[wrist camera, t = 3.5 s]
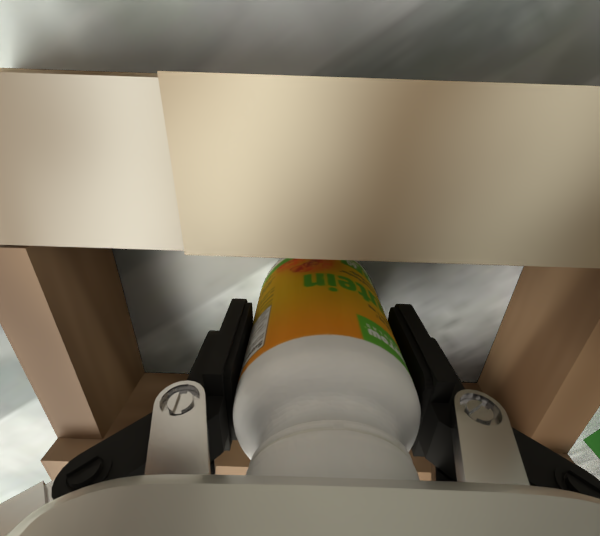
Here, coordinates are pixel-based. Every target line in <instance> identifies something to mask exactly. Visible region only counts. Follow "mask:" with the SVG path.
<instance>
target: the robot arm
mask: <svg viewBox="0 0 600 536" xmlns="http://www.w3.org/2000/svg"><path fill="white" fill-rule="evenodd" d="M388 323H389V325H390V328H391V330H392V333H393V335H394V338H395V340H396V342H397V345H398V347H399V349H400V352H401V354H402V357H403V359H404V361H405V363H406V366H407V368H408V371H409V373H410V375H411V378H412V380H413V383H414V386H415V389H416V391H417V395H418V398H419V403H420V408H421V419H420V426H419V430H418V434H417V437H416V439H415V442H414V444H413V446H412V448H411V450H412V453H413V456H415V457H425V458H426V459H427V460H428V461H429V462H431V481H422V480H394V479H362V478H330V477H295V476H255V475H216V464H215V459H216V458H217V457H218V456H220V455H221V454H222V453H223V452H224V451H230V449H231V444H232V440H238V439H237V437H236V434H235V429H234V424H233V404H234V399H235V394H236V388H237V385H238V381H239V376H240V372H241V369H242V365H243V361H244V357H245V353H246V349H247V345H248V341H249V336H250V333H251V329H252V325H253V313H252V303H247V299H232V301H231V303H230V306H229V308H228V311H227V313H226V316H225V318H224V321H223V323H222V326H221V328H220V331H209V332H208V334H207V336H206V338H205V340H204V343H203V345H202V347H201V349H200V352H199V354H198V356H197V358H196V360H195V363H194V365H193V367H192V369H191V371H190V374H189V376H188V378H187V380H186V381H180V382H176V383H173V384H171V385H170V386H168V387H166V388H165V389H164V390H162V391H161V392H160V393H159V395H158V396H157V398H156V399H155V402H154V406H153V412H151V413H150V414H148V415H146V416H144V417H143V418H141V419H139V420H137V421H136V422H134V423H132V424H131V425H129V426H127V427H125V428H124V429H122V430H120V431H118V432H117V433H115V434H113V435H111V436H110V437H108V438H106V439H105V440H103V441H101V442H99V443H98V444H96V445H94V446H92V447H91V448H89V449H87V450H86V451H84V452H82V453H80V454H79V455H77V456H76V457H75V458H73V459H72V460H70V461H69V462H68V463H67V464H66V465H65V466H64V467H63V468H62V469H61V471H60V472H59V474H58V475H57V476H56V478H55V480H53V481H51V482H49V483H47V484H46V485H45V483H44V481H42V482H40V483H38V484H36V485H34V486H33V487H31V488H29V489H27V490H25V491H23V492H21V493H20V494H18V495H16V496H14V497H12V498H10V499H8V500H7V501H5V502H3V503H1V504H0V536H600V481H599V480H598V479H597V478H596V477H595V476H593V475H592V474H590V473H589V472H587V471H586V470H584V469H583V468H581V467H579V466H578V465H576V464H574V463H572V462H571V461H569V460H567V459H566V458H564V457H562V456H560V455H559V454H557V453H555V452H554V451H552V450H550V449H549V448H547V447H545V446H543V445H542V444H540V443H538V442H537V441H535V440H533V439H531V438H530V437H528V436H526V435H525V434H523V433H521V432H520V431H518V430H516V429H514V428H513V427H511V424H510V421H509V418H508V415H507V413H506V411H505V409H504V408H503V407H502V406H501V405H500V404H499V403H498V402H497V401H496V400H495V399H493V398H492V397H490V396H488V395H487V394H485V393H482V392H480V391H477V390H471V389H465V388H464V386H463V384H462V383H461V381H460V379H459V378H458V376H457V374H456V373H455V371H454V369H453V368H452V366H451V364H450V363H449V361H448V359H447V358H446V356H445V354H444V353H443V351H442V349H441V348H440V346H439V344H438V343H437V341H436V340H435V339H434V338H431V337H430V336H429V334H428V332H427V331H426V329H425V327H424V325H423V324H422V322H421V320H420V318H419V317H418V315H417V313H416V312H415V310H414V308H413V306H412V305H410V304H396V305H395V307H391V308H390V312H389V317H388Z"/></svg>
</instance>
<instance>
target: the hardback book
mask: <svg viewBox="0 0 600 536" xmlns="http://www.w3.org/2000/svg"><path fill="white" fill-rule="evenodd" d="M584 441H585V443H586V444H587V445H588V446H589V447H590V448H591V449H592V451H593V452H594V453H595V454H596V455H597V456H598V457H599V459H600V429H599V430H597V431H596V432H594V433H593V434H591V435H590V436H588V437H587V438H585V439H584Z"/></svg>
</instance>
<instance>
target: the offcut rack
mask: <svg viewBox="0 0 600 536" xmlns="http://www.w3.org/2000/svg"><path fill="white" fill-rule="evenodd" d="M112 248H118V249H149V250H180V251H184V252H185V255H203V256H234V257H265V258H295V259H326V260H357V261H387V262H418V263H448V264H479V265H510V266H524V268H523V270H522V273H521V275H520V278H519V280H518V283H517V285H516V287H515V290H514V292H513V295H512V297H511V300H510V302H509V305H508V307H507V310H506V312H505V315H504V317H503V320H502V322H501V325H500V327H499V330H498V332H497V335H496V337H495V340H494V342H493V345H492V347H491V350H490V352H489V355H488V357H487V360H486V362H485V365H484V367H483V370H482V372H481V375H480V377H479V380H478V382H477V383H462V382H461V383H462V384H463V386H464V388H465V389H471V390H477V391H480V392H482V393H485V394H487V395H488V396H490V397H492V398H493V399H495V400H496V401H497V402H498V403H499V404H500V405H501V406H502V407H503V408H504V409H505V411H506V413H507V415H508V418H509V421H510V424H511V427H513V428H514V429H516V430H518V431H520V432H521V433H523V434H525V435H526V436H528V437H530V438H531V439H533V440H535V441H537V442H538V443H540V444H542V445H543V446H545V447H547V448H549V449H550V450H552V451H554V452H555V453H557V454H559V455H560V456H562V457H564V458H566V459H567V460H569V461H571V462H572V463H574V462H573V461H572V459H571V458H570V457H569V455H568V454H567V453H568V452H569V450H570V449H571V447H572V446H573V444H574V443H575V442H576V440H577V439H578V437H579V436H580V434H581V433H582V431H583V430H584V428H585V427H586V425H587V424H588V422H589V421H590V419H591V418H592V417H593V415H594V414H595V412H596V411H597V409H598V408H599V406H600V86H582V85H553V84H524V83H495V82H466V81H437V80H408V79H379V78H350V77H321V76H291V75H262V74H233V73H204V72H175V71H157V73H134V72H105V71H76V70H47V69H18V68H0V324H1V326H2V328H3V330H4V332H5V334H6V336H7V338H8V340H9V342H10V344H11V346H12V348H13V350H14V352H15V354H16V356H17V358H18V360H19V362H20V364H21V366H22V368H23V370H24V371H25V373H26V375H27V377H28V379H29V381H30V383H31V385H32V387H33V389H34V391H35V393H36V395H37V397H38V399H39V401H40V403H41V405H42V407H43V409H44V411H45V413H46V415H47V417H48V419H49V421H50V423H51V425H52V427H53V429H54V431H55V433H56V435H57V437H58V439H57V440H56V441H55V443H54V444H53V445H52V447H51V448H50V449H49V450H48V452H47V453H46V454H45V456H44V457H43V458H42V459H41V462H42V464H43V466H44V468H45V469H46V471H47V473H48V475H49V476H50V478H51V480H52V481H53V480H55V478H56V476H57V475H58V474H59V472H60V471H61V469H62V468H63V467H64V466H65V465H66V464H67V463H68V462H69V461H70V460H72V459H73V458H75V457H76V456H77V455H79V454H80V453H82V452H84V451H86V450H87V449H89V448H91V447H92V446H94V445H96V444H98V443H99V442H101V441H103V440H105V439H106V438H108V437H110V436H111V435H113V434H115V433H117V432H118V431H120V430H122V429H124V428H125V427H127V426H129V425H131V424H132V423H134V422H136V421H137V420H139V419H141V418H143V417H144V416H146V415H148V414H150V413H151V412H153V406H154V402H155V399H156V398H157V396H158V395H159V393H160V392H161V391H162V390H164V389H165V388H166V387H168V386H170V385H171V384H173V383H176V382H180V381H186V380H187V378H188V376H189V374H176V373H145V371H144V368H143V364H142V360H141V356H140V353H139V349H138V345H137V341H136V338H135V334H134V330H133V326H132V323H131V319H130V315H129V311H128V308H127V304H126V300H125V296H124V293H123V289H122V285H121V281H120V278H119V274H118V270H117V266H116V263H115V259H114V255H113V251H112ZM409 454H410V456H411V458H412V461H413V465H414V466H415V468H416V471H417V473H418V476H419V480H422V481H431V462H429V461H428V460H427V459H426V458H425V457H415V456H413V453H412V450H411V449H410V451H409ZM250 461H251V460H250V459H249V457H248V456H247V455H246V454H245V452H244V451H243V449H242V448H241V446H240V444H239V442H238V440H232V444H231V449H230V451H224V452H223V453H222V454H221V455H220V456H218V457H217V458H216V459H215V464H216V475H246V472H247V470H248V468H249V464H250ZM574 464H575V463H574Z"/></svg>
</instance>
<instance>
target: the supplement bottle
mask: <svg viewBox="0 0 600 536" xmlns="http://www.w3.org/2000/svg"><path fill="white" fill-rule="evenodd" d="M420 419H421V408H420V403H419V398H418V395H417V391H416V389H415V386H414V383H413V380H412V378H411V375H410V373H409V371H408V368H407V366H406V363H405V361H404V359H403V357H402V354H401V352H400V349H399V347H398V345H397V342H396V340H395V338H394V335H393V333H392V330H391V328H390V325H389V323H388V321H387V318H386V316H385V314H384V311H383V309H382V306H381V304H380V301H379V299H378V296H377V294H376V292H375V289H374V287H373V284H372V282H371V280H370V278H369V276H368V274H367V272H366V271H365V269H364V268H363V267H362V266H361V265H360V264H359V263H358V262H357V261H356V260H326V259H295V258H282V259H281V260H279V261H278V262H277V263H276V264H275V265H274V266H273V268H272V269H271V270H270V272H269V273H268V275H267V277H266V278H265V281H264V283H263V286H262V290H261V293H260V297H259V301H258V305H257V309H256V313H255V317H254V321H253V325H252V329H251V333H250V336H249V341H248V345H247V349H246V353H245V357H244V361H243V365H242V369H241V372H240V376H239V381H238V385H237V388H236V394H235V399H234V404H233V424H234V429H235V434H236V437H237V439H238V442H239V444H240V446H241V448H242V449H243V451H244V452H245V454H246V455H247V456H248V457H249V459H250V460H251V461H250V464H249V468H248V470H247V472H246V475H255V476H295V477H330V478H362V479H394V480H419V476H418V473H417V471H416V468H415V466H414V465H413V461H412V458H411V456H410V454H409V451H410V449H411V448H412V446H413V444H414V442H415V439H416V437H417V434H418V430H419V426H420Z"/></svg>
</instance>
